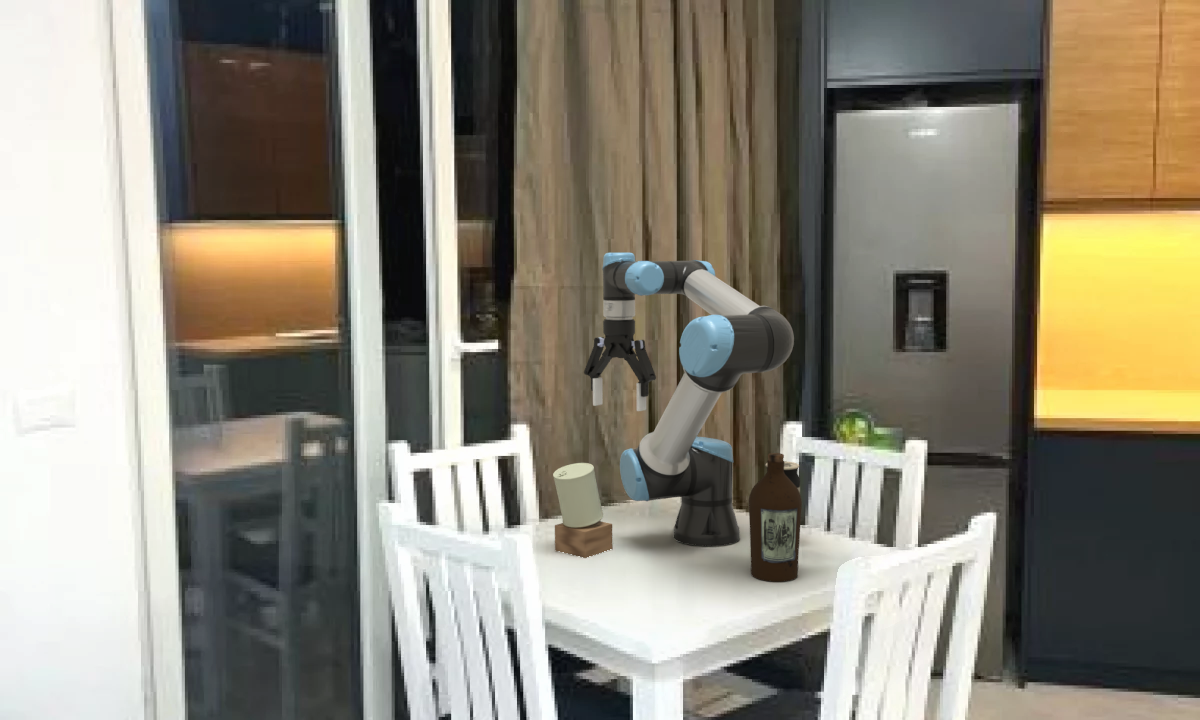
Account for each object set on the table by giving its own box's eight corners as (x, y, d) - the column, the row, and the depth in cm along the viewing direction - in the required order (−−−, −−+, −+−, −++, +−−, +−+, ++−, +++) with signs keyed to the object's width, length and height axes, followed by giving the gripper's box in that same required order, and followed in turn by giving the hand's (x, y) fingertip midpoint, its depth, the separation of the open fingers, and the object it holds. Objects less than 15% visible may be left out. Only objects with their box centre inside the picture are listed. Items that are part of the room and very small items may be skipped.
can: (555, 520, 239) (545, 470, 236) (591, 506, 243) (582, 457, 240) (573, 531, 231) (563, 480, 228) (610, 517, 235) (600, 466, 232)
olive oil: (743, 567, 223) (744, 449, 221) (794, 567, 224) (796, 449, 221) (753, 583, 213) (754, 459, 210) (806, 582, 213) (808, 459, 211)
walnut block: (612, 550, 238) (612, 523, 237) (585, 559, 231) (585, 532, 230) (582, 543, 243) (582, 517, 243) (555, 551, 237) (554, 525, 236)
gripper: (569, 316, 257) (569, 404, 260) (650, 321, 241) (650, 414, 243) (590, 315, 263) (590, 401, 265) (671, 319, 247) (670, 410, 249)
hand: (619, 407), depth 254 cm, fingers open, 13 cm apart
